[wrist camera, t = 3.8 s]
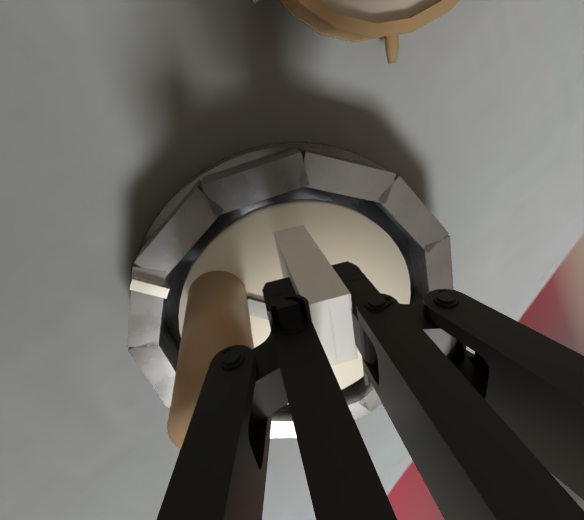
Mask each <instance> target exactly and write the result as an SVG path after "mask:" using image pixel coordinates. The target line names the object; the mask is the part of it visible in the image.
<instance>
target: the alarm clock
mask: <svg viewBox="0 0 584 520" xmlns="http://www.w3.org/2000/svg"><path fill="white" fill-rule="evenodd" d="M252 1H253V2H254V4H255V3H257V2H258V1H260V0H252ZM280 1H281V3H282V4H283V5H284V6H285V8H286V9H287V10H288V12H289V13H290V14H291V15H293V16H294V17H296V18H297V19H299V20H300V21H302V22H303V23H305V24H306V25H308V26H309V27H311V28H312V29H313V30H315V31H316V32H318V33H319V34H321V35H325V36H329V37H334V38H338V39H342V40H346V41H351V42H358V41H364V40H370V39H376V38H383V37H385V47H386V55H387V59H388V63H389V64H391V63H395V62H397V55H398V48H399V47H398V34H403V33H409V32H413V31H415V30H416V29H418V28H420V27H422V26H424V25H425V24H427V23H429V22H431V21H433V20H434V19H436V18H438V17H440V16H441V15H443V14H445V13H447V12H449V11H450V10H451V9H452V8H453V7H454V6H455V5H456V4H457V2H458V1H459V0H280Z"/></svg>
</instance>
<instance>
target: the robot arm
mask: <svg viewBox="0 0 584 520" xmlns="http://www.w3.org/2000/svg"><path fill="white" fill-rule="evenodd" d="M273 233H274V237H275V242H276V247H277V251H278V256H279V261H280V265H281V270H282V274H283V279H279V280H275V281H271V282H267V283H265V285H264V288H263V290H262V292H263V296H264V300H265V305H266V309H267V316H268V320H269V324H270V328H271V332H270V335H269V336H268V338H267V339H266V340H265V341H264V342H263V343H262V344H260V345H259V346H257V347H255V348H253V349H252V350H251V348H250V347H247V346H245V345H233V346H229V347H227V348H225V349H223V350H221V351H219V352H218V353H217V354H216V355H215V356H214V357H213V359H212V361H211V362H210V365H209V368H208V371H207V374H206V377H205V380H204V383H203V386H202V388H201V391H200V394H199V397H198V400H197V403H196V406H195V409H194V412H193V415H192V418H191V421H190V424H189V427H188V429H187V432H186V435H185V438H184V441H183V444H182V447H181V450H180V453H179V456H178V459H177V462H176V465H175V468H174V470H173V473H172V476H171V479H170V482H169V485H168V488H167V491H166V494H165V497H164V500H163V503H162V506H161V509H160V511H159V514H158V517H157V520H262V511H263V501H264V492H265V482H266V472H267V462H268V452H269V442H270V433H271V423H272V415H271V414H272V413H274V412H276V411H277V410H279V409H280V408H282V407H283V406H285V405H287V404H288V403H289V407H290V411H291V416H292V420H293V424H294V428H295V432H296V437H297V441H298V445H299V449H300V453H301V458H302V462H303V466H304V470H305V474H306V479H307V483H308V487H309V491H310V495H311V500H312V504H313V508H314V512H315V516H316V520H397V518H396V516H395V514H394V511H393V509H392V507H391V504H390V502H389V500H388V497H387V495H386V493H385V490H384V488H383V486H382V483H381V481H380V479H379V476H378V474H377V472H376V469H375V467H374V465H373V462H372V460H371V458H370V455H369V453H368V451H367V449H366V446H365V444H364V442H363V439H362V437H361V435H360V432H359V430H358V428H357V425H356V423H355V421H354V418H353V416H352V414H351V411H350V409H349V407H348V404H347V402H346V400H345V397H344V395H343V393H342V390H341V388H340V386H339V383H338V381H337V379H336V377H335V374H334V372H333V370H332V367H331V366H333V365H337V364H340V363H344V362H348V361H351V360H355V359H358V354H357V348H358V350H359V352H360V354H361V355H362V363H363V373H364V381H365V385H369V383H368V378H369V380H370V382H371V383H372V385H373V387H374V389H375V391H376V393H377V395H378V396H379V398H380V400H381V402H382V404H383V406H384V408H385V409H386V411H387V413H388V415H389V417H390V419H391V421H392V422H393V424H394V426H395V428H396V430H397V432H398V434H399V435H400V437H401V439H402V441H403V443H404V445H405V447H406V448H407V450H408V452H409V454H410V456H411V458H412V460H413V461H414V463H415V465H416V467H417V469H418V471H419V472H420V474H421V476H422V478H423V480H424V482H425V484H426V485H427V487H428V489H429V491H430V493H431V495H432V497H433V499H434V500H435V502H436V504H437V506H438V508H439V510H440V511H441V513H442V515H443V517H444V519H445V520H584V511H583V510H582V509H581V507H580V506H579V505H578V504H577V503H576V502H575V501H574V500H573V498H572V497H571V496H570V495H569V494H568V493H567V492H566V490H565V489H564V488H563V487H562V486H561V485H560V484H559V483H558V482H557V480H555V478H554V477H553V476H552V475H551V474H550V472H551V473H552V474H553V475H554V476H556V477H557V478H558V479H559V480H560V481H562V482H563V483H564V484H565V485H566V486H568V487H569V488H570V489H571V490H572V491H574V492H575V493H576V494H577V495H578V496H580V497H581V498H582V499H583V500H584V356H583V355H581V354H579V353H577V352H575V351H573V350H571V349H569V348H567V347H565V346H563V345H562V344H560V343H558V342H556V341H554V340H552V339H550V338H548V337H546V336H544V335H542V334H540V333H538V332H536V331H534V330H532V329H531V328H529V327H527V326H525V325H523V324H521V323H519V322H517V321H515V320H513V319H511V318H509V317H507V316H506V315H504V314H502V313H500V312H498V311H496V310H494V309H492V308H490V307H488V306H486V305H484V304H482V303H480V302H478V301H477V300H475V299H473V298H471V297H469V296H467V295H465V294H463V293H461V292H458V291H455V290H450V289H436V290H433V291H430V292H429V293H427V294H426V295H425V297H424V299H423V304H400V303H399V302H398V301H397V300H396V299H395V298H393V297H392V296H390V295H387V294H381V293H380V292H379V291H378V290H377V289H376V288H375V286H374V285H373V284H372V283H371V282H370V280H369V279H368V278H366V276H365V274H364V273H362V271H361V270H360V269H359V267H358V266H357V265H355V264H353V263H350V262H348V261H346V262H342V263H339V264H335V265H331V264H330V263H329V261H328V260H327V258H326V257H325V255H324V254H323V253H322V251H321V250H320V248H319V247H318V245H317V244H316V242H315V241H314V239H313V238H312V237H311V235H310V234H309V232H308V231H307V229H306V228H305V226H304V225H300V226H296V227H292V228H288V229H283V230H279V231H275V232H273ZM466 346H467V347H469V348H470V349H472V350H473V351H475V354H472V353H470V352H469V351H467V350H466Z"/></svg>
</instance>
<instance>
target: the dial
mask: <svg viewBox="0 0 584 520" xmlns="http://www.w3.org/2000/svg"><path fill="white" fill-rule="evenodd" d="M300 225H304V226H305V228H306V229H307V231H308V232H309V234H310V235H311V237H312V238H313V239H314V241H315V242H316V244H317V245H318V247H319V248H320V250H321V251H322V253H323V254H324V255H325V257H326V258H327V260H328V261H329V263H330V264H331V265H335V264H339V263H342V262H346V261H348V262H350V263H353V264H355V265H357V266H358V267H359V269H360V270H361V271H362V273H364V274H365V276H366V278H368V279H369V280H370V282H371V283H372V284H373V285H374V286H375V288H376V289H377V290H378V291H379V292H380V293H381V294H387V295H390V296H392V297H393V298H395V299H396V300H397V301H398V302H399V303H400V304H410V296H411V291H410V278H409V272H408V268H407V265H406V262H405V259H404V257H403V255H402V253H401V251H400V250H399V248H398V246H397V245H396V244H395V242H394V241H393V240H392V238H391V237H390V236H389V235H388V234H387V233H386V232H385V231H384V230H383V229H382V228H381V227H380V226H378V225H377V224H376V223H375V222H373V221H372V220H370V219H369V218H368V217H366V216H365V215H363V214H362V213H360V212H358V211H356V210H354V209H352V208H350V207H347V206H344V205H341V204H338V203H335V202H330V201H324V200H317V199H296V200H285V201H281V202H276V203H272V204H268V205H265V206H262V207H260V208H257V209H254V210H252V211H250V212H248V213H246V214H244V215H242V216H240V217H238V218H236V219H235V220H233V221H232V222H230V223H229V224H228V225H226V226H225V227H223V228H222V229H221V230H220V231H219V232H218V233H216V234H215V235H214V236H213V237H212V238H211V239H210V240H209V241H208V242H207V244H206V245H205V246H204V247H203V248H202V250H201V251H200V252H199V254H198V255H197V257H196V258H195V260H194V262H193V263H192V265H191V267H190V269H189V272H188V274H187V276H186V278H185V282H184V286H183V289H182V293H181V299H180V305H179V315H178V318H179V331H180V335H181V342H180V349H179V355H178V361H177V368H176V374H175V381H174V387H173V393H172V400H171V406H170V412H169V419H168V426H167V429H168V435H169V437H170V439H171V441H172V442H173V443H174V444H175V445H176V446H177V447H178V448H179V449H181V447H182V444H183V441H184V438H185V435H186V432H187V429H188V427H189V424H190V421H191V418H192V415H193V412H194V409H195V406H196V403H197V400H198V397H199V394H200V391H201V388H202V386H203V383H204V380H205V377H206V374H207V371H208V368H209V365H210V362H211V361H212V359H213V357H214V356H215V355H216V354H217V353H218V352H219V351H221V350H223V349H225V348H227V347H229V346H233V345H245V346H247V347H250V348H251V350H252V349H253V348H255V347H257V346H259V345H260V344H262V343H263V342H264V341H265V340H266V339H267V338H268V336H269V335H270V332H271V328H270V324H269V320H268V316H267V309H266V305H265V300H264V296H263V292H262V290H263V288H264V285H265V283H267V282H271V281H275V280H279V279H283V274H282V270H281V265H280V261H279V256H278V251H277V247H276V242H275V237H274V233H273V232H275V231H279V230H283V229H288V228H292V227H296V226H300ZM357 354H358V359H355V360H351V361H348V362H344V363H340V364H337V365H333V366H331V367H332V370H333V372H334V374H335V377H336V379H337V381H338V383H339V386H340V388H341V390H342V389H344V388H346V387H348V386H349V385H351V384H353V383H354V382H356V381H358V380H359V379H360V378H362V377H363V376H364V373H363V363H362V355H361V354H360V352H359V350H358V348H357ZM288 404H289V403H288Z"/></svg>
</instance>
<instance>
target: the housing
mask: <svg viewBox="0 0 584 520" xmlns="http://www.w3.org/2000/svg"><path fill="white" fill-rule="evenodd" d="M296 199H317V200H324V201H330V202H335V203H338V204H341V205H344V206H347V207H350V208H352V209H354V210H356V211H358V212H360V213H362V214H363V215H365V216H366V217H368V218H369V219H370V220H372V221H373V222H375V223H376V224H377V225H378V226H380V227H381V228H382V229H383V230H384V231H385V232H386V233H387V234H388V235H389V236H390V237H391V238H392V240H393V241H394V242H395V244H396V245H397V246H398V248H399V250H400V251H401V253H402V255H403V257H404V259H405V262H406V265H407V268H408V272H409V278H410V291H411V296H410V304H423V299H424V297H425V295H426V294H427V293H429V292H430V291H433V290H436V289H450V290H453V277H452V261H451V246H450V236H448V234H449V233H448V232H447V231H446V230H445V228H444V227H443V226H442V225H441V224H440V223H439V221H438V220H437V219H436V218H435V217H434V215H433V214H432V213H431V212H430V211H429V210H428V208H427V207H426V206H425V205H424V204H423V202H422V201H421V200H420V199H419V198H418V197H417V195H416V194H415V193H414V192H413V191H412V190H411V188H410V187H409V186H408V185H407V184H406V182H405V181H404V180H403V179H402V178H401V177H400V176H399V175H397V174H396V173H393V172H391V171H389V170H387V169H385V168H384V167H383V166H381V165H379V164H377V163H375V162H373V161H371V160H369V159H367V158H365V157H363V156H360V155H358V154H355V153H352V152H349V151H346V150H343V149H340V148H337V147H333V146H327V145H321V144H316V143H292V142H290V143H281V144H272V145H266V146H262V147H258V148H254V149H250V150H246V151H243V152H240V153H238V154H235V155H233V156H230V157H228V158H226V159H223V160H221V161H219V162H217V163H216V164H214V165H212V166H211V167H209V168H207V169H205V170H204V171H202V172H200V173H199V174H198V175H197V176H195V177H194V178H193V179H191V180H190V181H189V182H188V183H186V184H185V185H184V186H182V188H181V189H180V190H179V191H178V192H177V193H176V194H175V195H174V196H173V197H172V198H171V199H170V200H169V201H168V202H167V203H166V205H165V206H164V207H163V209H162V210H161V212H160V213H159V214H158V216H157V217H156V219H155V220H154V222H153V223H152V225H151V227H150V229H149V231H148V233H147V235H146V237H145V239H144V241H143V243H142V245H141V247H140V249H139V252H138V255H137V258H136V260H135V262H134V265H133V267H132V280H131V285H130V288H129V290H130V309H129V324H128V338H127V347H129V348H128V351H129V353H130V354H131V356H132V357H133V358H134V360H135V361H136V363H137V364H138V366H139V367H140V369H141V370H142V372H143V373H144V375H145V376H146V378H147V379H148V381H149V382H150V383H151V385H152V386H153V388H154V389H155V391H156V392H157V394H158V395H159V397H160V398H161V400H162V401H163V403H164V404H165V406H166V407H167V408H168V407H170V406H171V400H172V393H173V387H174V381H175V374H176V368H177V361H178V355H179V349H180V342H181V335H180V331H179V318H178V315H179V305H180V299H181V293H182V289H183V286H184V282H185V278H186V276H187V274H188V272H189V269H190V267H191V265H192V263H193V262H194V260H195V258H196V257H197V255H198V254H199V252H200V251H201V250H202V248H203V247H204V246H205V245H206V244H207V242H208V241H209V240H210V239H211V238H212V237H213V236H214V235H215V234H216V233H218V232H219V231H220V230H221V229H222V228H223V227H225V226H226V225H228V224H229V223H230V222H232V221H233V220H235V219H236V218H238V217H240V216H242V215H244V214H246V213H248V212H250V211H252V210H254V209H257V208H260V207H262V206H265V205H268V204H272V203H276V202H281V201H285V200H296ZM368 383H369V385H365V381H364V376H363V377H362V378H360V379H359V380H358V381H356V382H354V383H353V384H351V385H349V386H348V387H346V388H344V389H342V393H343V395H344V397H345V400H346V402H347V404H348V407H349V409H350V411H351V414H352V416H353V418H354V419H356V418H358V417H361V416H364V415H366V414H369V411H368V410H370V411H371V412H372V411H373V410H375V409H376V408H377V407H378V406H379V405H380V404H382V402H381V400H380V398H379V396H378V395H377V393H376V391H375V389H374V387H373V385H372V383H371V382H370V380H369V378H368ZM271 415H272V423H271V433H270V438H297V437H296V432H295V428H294V424H293V420H292V416H291V411H290V407H289V404H287V405H285V406H283V407H282V408H280V409H279V410H277V411H276V412H274V413H272V414H271Z"/></svg>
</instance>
